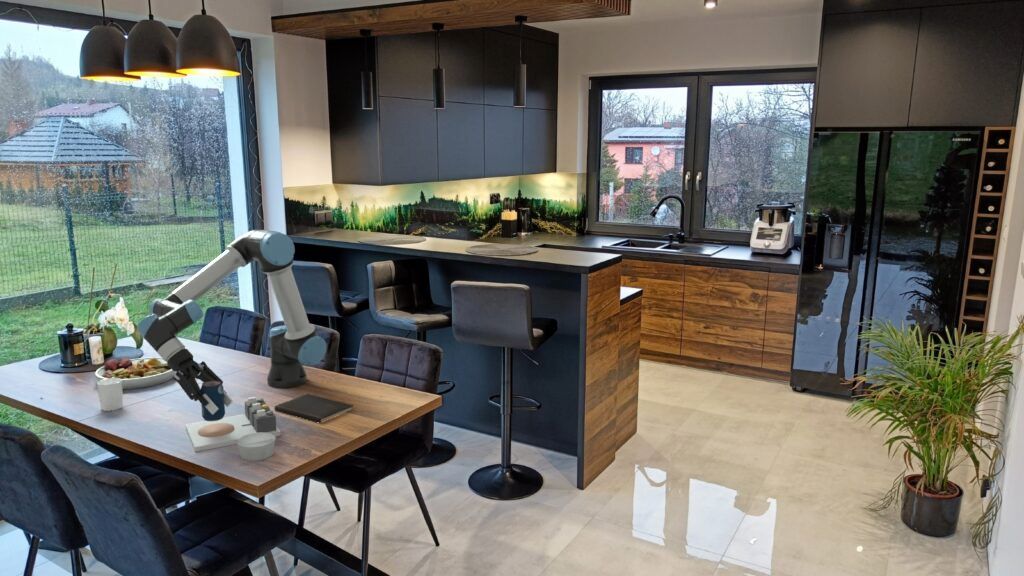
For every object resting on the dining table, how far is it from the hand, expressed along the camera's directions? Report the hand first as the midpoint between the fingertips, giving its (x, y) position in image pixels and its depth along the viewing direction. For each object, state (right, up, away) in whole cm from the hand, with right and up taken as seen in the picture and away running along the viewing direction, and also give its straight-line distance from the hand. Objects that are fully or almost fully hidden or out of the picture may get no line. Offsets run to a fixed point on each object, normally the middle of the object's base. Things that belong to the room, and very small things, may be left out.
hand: (222, 407), depth 234 cm
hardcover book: (+22, -6, +26) cm, 35 cm away
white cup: (-50, -5, +26) cm, 57 cm away
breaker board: (+1, -9, +5) cm, 11 cm away
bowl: (-58, +1, +59) cm, 83 cm away
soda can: (-4, -4, +2) cm, 6 cm away
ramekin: (+16, -13, -12) cm, 24 cm away
